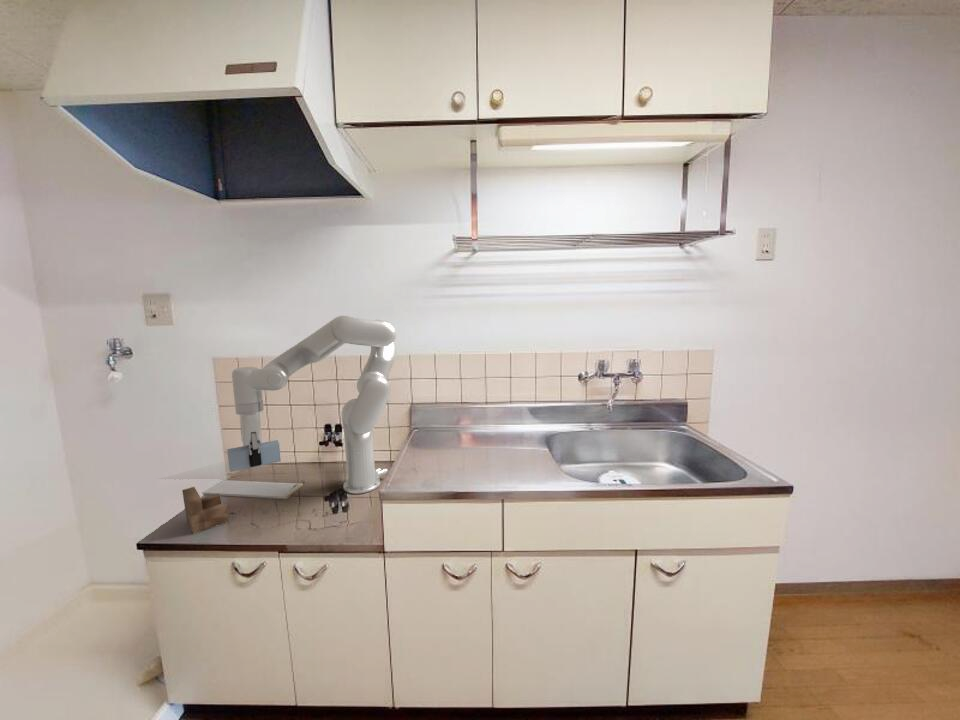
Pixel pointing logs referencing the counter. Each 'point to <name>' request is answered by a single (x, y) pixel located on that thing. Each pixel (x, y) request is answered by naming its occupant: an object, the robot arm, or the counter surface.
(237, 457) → the slate slat
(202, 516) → the walnut end cap
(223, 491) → the baseboard molding
